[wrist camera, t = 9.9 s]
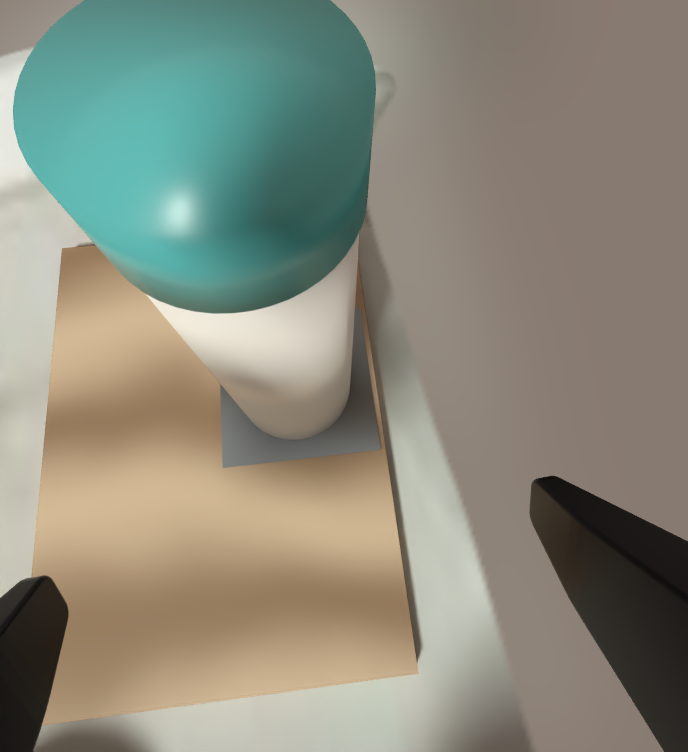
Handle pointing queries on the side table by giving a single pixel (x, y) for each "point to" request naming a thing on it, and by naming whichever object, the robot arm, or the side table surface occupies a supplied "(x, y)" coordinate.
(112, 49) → the ball
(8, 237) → the side table surface
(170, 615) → the board
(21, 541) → the side table surface
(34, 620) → the robot arm
